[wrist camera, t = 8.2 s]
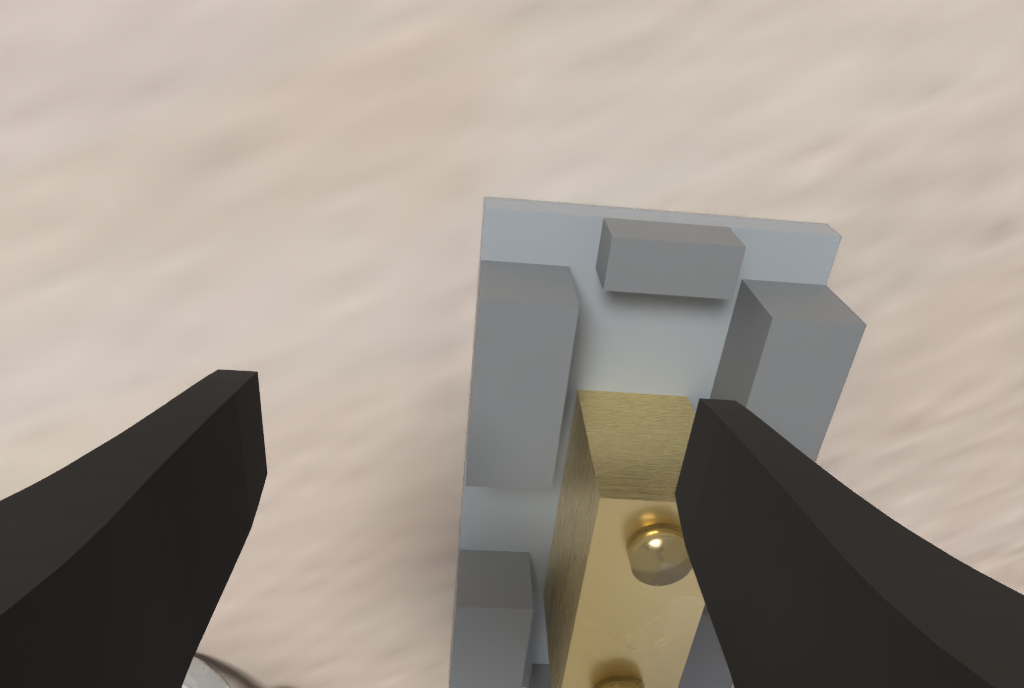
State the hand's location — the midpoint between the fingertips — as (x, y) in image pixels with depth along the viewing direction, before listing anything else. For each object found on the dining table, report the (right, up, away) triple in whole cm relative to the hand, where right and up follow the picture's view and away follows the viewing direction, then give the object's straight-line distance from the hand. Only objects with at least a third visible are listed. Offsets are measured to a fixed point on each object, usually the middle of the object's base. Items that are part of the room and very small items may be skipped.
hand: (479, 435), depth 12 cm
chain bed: (+4, -3, +13) cm, 14 cm away
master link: (+4, -4, +12) cm, 14 cm away
